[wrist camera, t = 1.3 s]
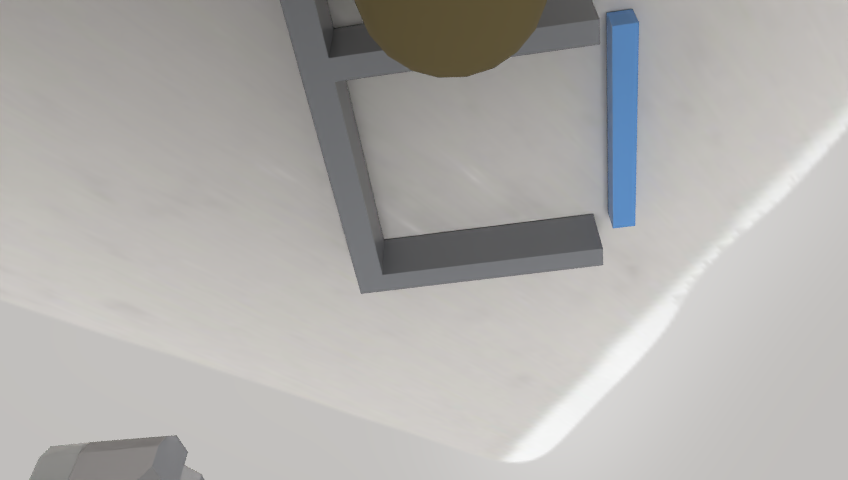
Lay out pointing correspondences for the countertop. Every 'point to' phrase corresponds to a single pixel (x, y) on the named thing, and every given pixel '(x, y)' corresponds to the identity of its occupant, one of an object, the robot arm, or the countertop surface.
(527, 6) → the cork
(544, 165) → the countertop surface
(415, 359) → the countertop surface
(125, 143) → the countertop surface
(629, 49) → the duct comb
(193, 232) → the countertop surface
